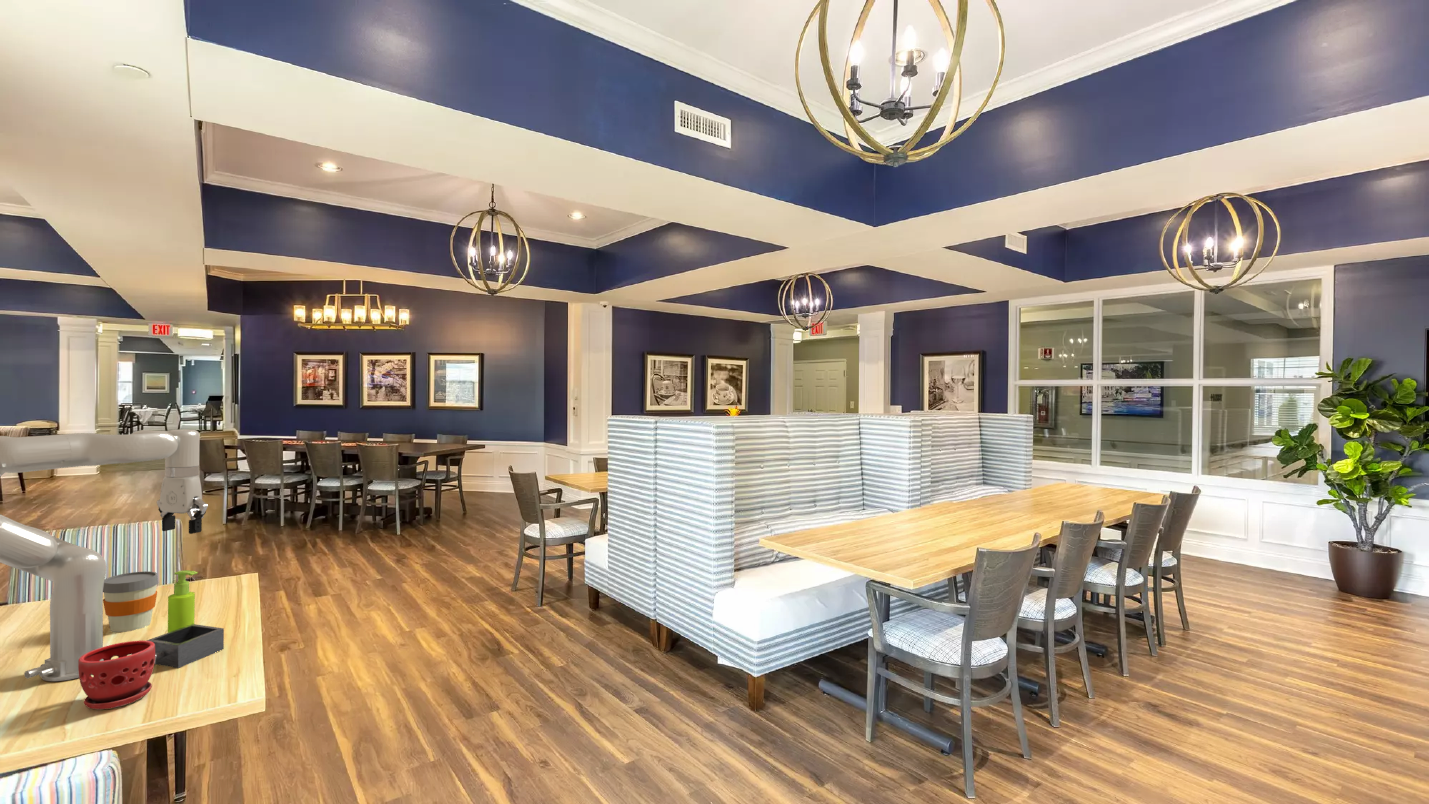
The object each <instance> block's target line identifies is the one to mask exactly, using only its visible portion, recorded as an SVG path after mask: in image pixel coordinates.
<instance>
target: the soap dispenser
mask: <svg viewBox="0 0 1429 804" xmlns="http://www.w3.org/2000/svg"><path fill="white" fill-rule="evenodd" d="M198 573H199V572H198V571H195V570H189V569H187V570H178V571H176V572H174V574H173V575H176V576H177V581H176V582H175V583H174V584H173V593H172V594H169V595H168V597H167V633H169V632H172V631H175V630H177V629H180V628H183V627H186V626H189V625H191V624H195V615H196V614H195V612H196V611H195V609H196V607H195V604H196V602H195V600H196V599H195V597H196V593H195V592H194V591H190V581H188V580H186V577H187V576H194V575H197V574H198Z"/></svg>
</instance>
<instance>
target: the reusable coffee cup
mask: <svg viewBox="0 0 1429 804" xmlns="http://www.w3.org/2000/svg"><path fill="white" fill-rule="evenodd" d="M158 584H159V577H158V573H157V572H156V571H145V570H144V571H134V572H125V573H121V574H117V575H112V576H109V577H107V578H105V580H104V586H103V597H104V598H103V610H104V614H105V616H107V620H108V624H109V631H110V632H112V633H125V632H132V631H137V630H141V629H142V628H145V626H146V627H148V626H149V625H150V624H151V622H152V615H153V609H154V608H155V606H156V602H157V596H158V591H157V586H158ZM136 629H137V630H136Z"/></svg>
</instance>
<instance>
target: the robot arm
mask: <svg viewBox="0 0 1429 804" xmlns="http://www.w3.org/2000/svg"><path fill="white" fill-rule="evenodd" d="M200 436H201V435H200V432H199V431H198V430H196V429H189V428H187V429H186V428H185V429H183V428H181V429H171V430H154V429H153V430H151V429H141V430H137V431H134V432H132V433H130V434H103V433H102V434H101V433H92V432H91V433H90V432H88V433H85V432H78V433H76V432H75V433H65V434H63V433H61V434H54V435H53V434H51V435H33V436H16V437H14V436H7V435H0V477H2V476H3V475H4V474H6V473H8V474H11V473H12V474H14V473H15V474H18V473H27V472H28V473H29V472H36V471H37V472H38V471H46V470H55V469H66V468H78V467H92V466H105V465H114V464H127V463H128V464H129V463H139V462H147V461H149V462H151V461H157V460H159V461H160V460H165V461H164V477H163V479H162V482H161V485H160V486H161V487H160V497H159V499H158V500H156V505H157V508H158V511H159V513H160V514H159V515H160V517H161V531H162V532H166V531H173V530H175V529H176V515H175V514H186V513H187V515H188V518H190V519H189V520H188V534H189V535H193V534H197V533H201V532H202V530H203V528H202V527H203V522H202V520H203V518H204V517H205V515H206V512H207V509H208V507H209V505H208V503H206V502H205V501H204V500H203V493H202V492H203V491H202V484H201V478H200V440H201V438H200ZM0 563H1V564H3V565H6V566H9V567H11V568H13V569H17V570H20V571H21V572H22V571H23V572H24V573H28V574H31V575H34V576H36V577H40V578H42V579H45V580H48V581H50V582H52V583H53V585H52V592H51V595H50V603H49V655H50V656H49V658H47V659H46V658H45V659H44V663H43V664H41V665H40V666H38V667H34V668H31V669H28V670H26V671H24V672H23V676H24V678H25V679H26V680H28V679H30V678H33V677H36V676H39V677H40V678H41V679H42V680H43V681H45V682H62V681H69V680H75V679H79V671H78V660H79V658H80V657H81V656H83V655H84V654H86V653H88V652H90V651H93V650H96V649H98V648H102V647H104V642H103V641H104V639H103V638H104V634H103V633H104V630H103V627H104V619H103V616H104V615H103V614H104V612H103V611H104V603H103V599H104V598H103V597H104V592H103V586H104V580H105V579H106V574H107V562H106V560H105V558H104V556H102V555H101V553H99V552H98V551H96V550H93V549H92V548H87V547H84V546H80V545H76V544H74V543H71V542H68V541H66V540H63V539H60V538H59V537H57V536H54V535H51V534H50V533H48V532H47V531H44V530H42V529H40V528H37V527H33V526H30V525H26V524H23V523H21V522H18V521H17V520H14V519H12V518H10V517H7V516H5V515H2V514H0ZM100 661H104V659H101V660H100Z"/></svg>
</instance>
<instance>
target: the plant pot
mask: <svg viewBox="0 0 1429 804" xmlns="http://www.w3.org/2000/svg"><path fill="white" fill-rule="evenodd" d="M113 657H116V658H113ZM112 658H113V659H112ZM101 659H104V661H100V660H101ZM143 662H144V663H143ZM154 663H155V644H154V643H153V642H151V641H146V640H130V641H129V640H128V641H124V642H118V643H113V644H110V645H109V644H108V645H105V646H103V647H102V648H98V649H96V650H93V651H90V652H88V653H86V654H84V655H83V656H81V657H80V658H79V660H78V671H79V678H78V679H79V683H80V687H81V688H82V690H83V692H84V694H85V696H86V697H85V698H84V700H83V703H84V706H85V707H87V708H89V709H92V710H109V709H115V708H119V707H123V706H125V705H128V704H134V703H135V702H136V701H139V700H140V699H142V698H143V697H145V696H146V695H147V694H149V693H150V691H151V690H152V687H153V684H152V682H150V681H149V680H150V679H151V677H152V675H153V672H154V667H155V664H154ZM92 675H93V676H92Z"/></svg>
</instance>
